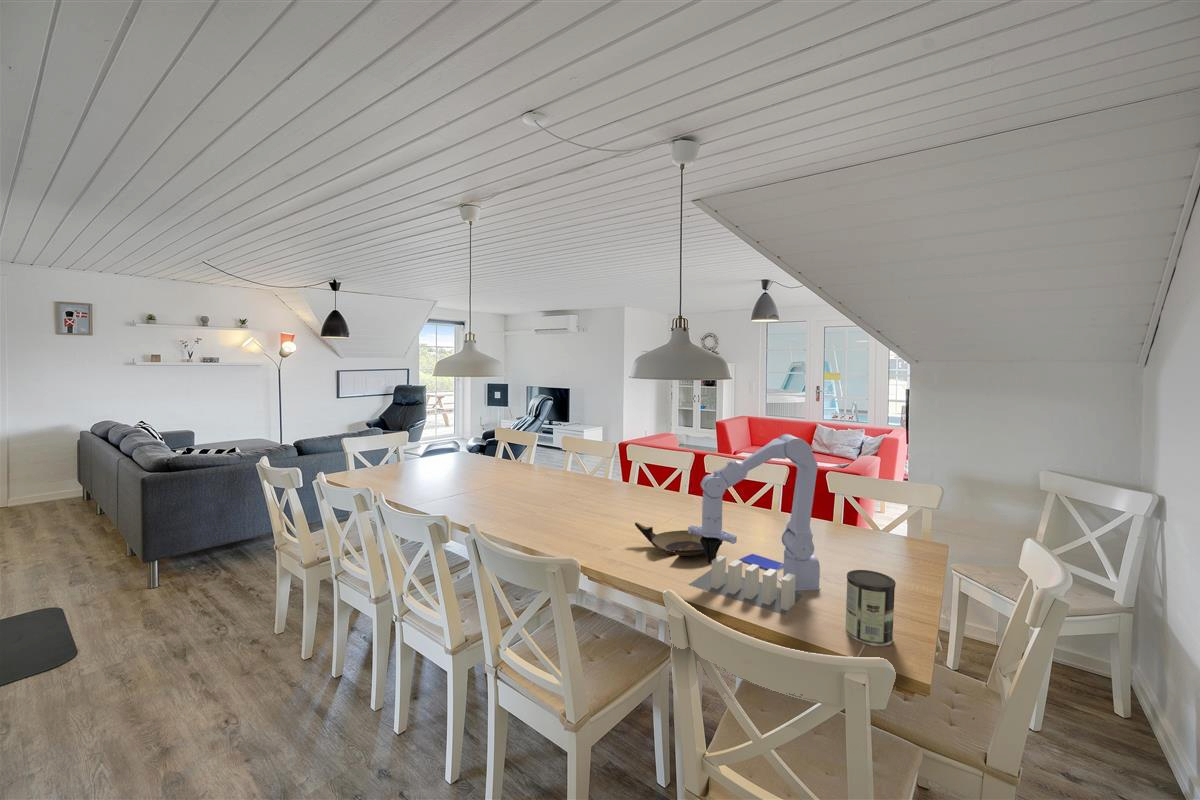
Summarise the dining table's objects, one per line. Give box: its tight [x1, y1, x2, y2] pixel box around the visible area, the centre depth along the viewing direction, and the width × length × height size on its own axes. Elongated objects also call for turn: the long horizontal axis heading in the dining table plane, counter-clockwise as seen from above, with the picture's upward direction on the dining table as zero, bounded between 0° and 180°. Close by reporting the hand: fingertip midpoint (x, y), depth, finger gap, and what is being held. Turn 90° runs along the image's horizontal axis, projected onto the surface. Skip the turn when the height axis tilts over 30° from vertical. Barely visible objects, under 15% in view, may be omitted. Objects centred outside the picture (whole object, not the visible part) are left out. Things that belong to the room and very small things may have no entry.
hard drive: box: [738, 553, 784, 572], centre depth 166 cm, size 2×8×12 cm
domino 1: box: [711, 555, 727, 589], centre depth 149 cm, size 2×5×8 cm, turn 141°
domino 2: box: [727, 559, 743, 594], centre depth 146 cm, size 2×5×8 cm, turn 141°
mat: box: [688, 568, 804, 615], centre depth 147 cm, size 28×15×1 cm, turn 51°
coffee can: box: [845, 569, 896, 647], centre depth 123 cm, size 10×10×14 cm
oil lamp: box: [634, 522, 723, 557], centre depth 179 cm, size 22×30×8 cm
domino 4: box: [762, 569, 778, 605], centre depth 140 cm, size 2×5×8 cm, turn 141°
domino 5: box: [780, 573, 796, 612], centre depth 137 cm, size 2×5×8 cm, turn 141°
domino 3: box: [744, 564, 760, 600], centre depth 143 cm, size 2×5×8 cm, turn 141°
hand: (711, 562), depth 151 cm, fingers closed
